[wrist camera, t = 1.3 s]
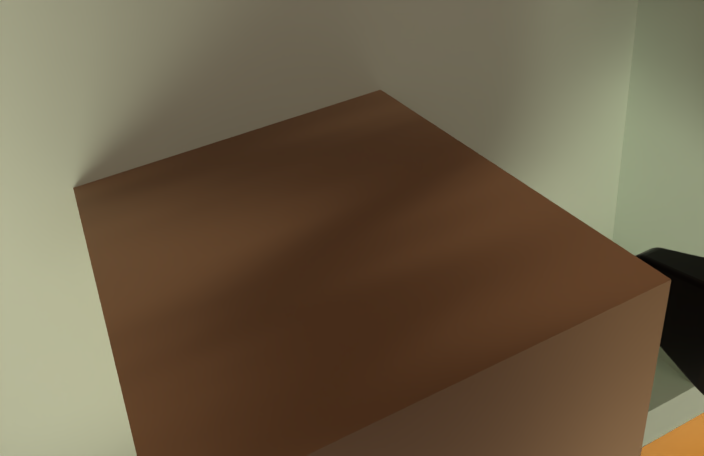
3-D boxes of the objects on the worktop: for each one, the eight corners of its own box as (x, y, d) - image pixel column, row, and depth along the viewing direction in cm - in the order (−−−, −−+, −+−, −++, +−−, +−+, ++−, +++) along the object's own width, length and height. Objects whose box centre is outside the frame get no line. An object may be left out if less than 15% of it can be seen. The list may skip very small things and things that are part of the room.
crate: (693, -202, 11) (890, -212, 9) (624, 322, 18) (725, 399, 16) (-798, 109, 6) (-1337, 299, 4) (-108, 683, 13) (-131, 886, 10)
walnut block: (380, 89, 11) (670, 279, 6) (406, 314, 14) (621, 562, 9) (73, 187, 10) (155, 528, 5) (172, 417, 12) (284, 772, 8)
